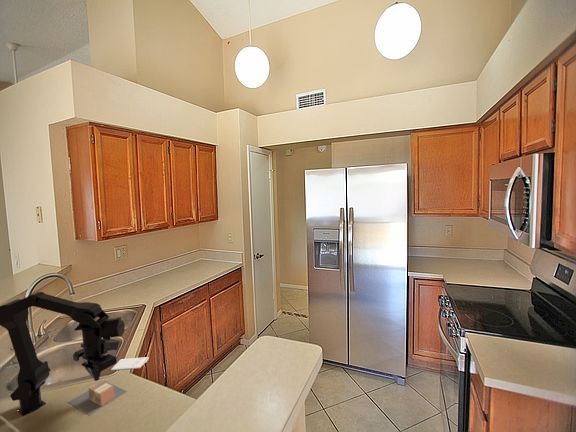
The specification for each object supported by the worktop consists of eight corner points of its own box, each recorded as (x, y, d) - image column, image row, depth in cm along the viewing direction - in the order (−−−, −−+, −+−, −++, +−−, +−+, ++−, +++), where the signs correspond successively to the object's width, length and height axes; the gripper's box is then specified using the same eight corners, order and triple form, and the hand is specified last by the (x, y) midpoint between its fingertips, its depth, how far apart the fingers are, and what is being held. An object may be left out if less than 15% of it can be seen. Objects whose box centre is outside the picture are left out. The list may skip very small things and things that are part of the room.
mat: (67, 403, 102) (67, 402, 102) (105, 382, 114) (105, 381, 114) (89, 416, 95) (89, 415, 95) (127, 392, 107) (127, 391, 106)
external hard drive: (121, 362, 129) (149, 359, 130) (111, 373, 121) (140, 370, 121) (121, 358, 129) (148, 356, 129) (110, 369, 121) (139, 366, 121)
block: (88, 387, 103) (100, 394, 99) (101, 380, 107) (113, 386, 103) (89, 399, 103) (101, 406, 99) (102, 391, 107) (114, 397, 103)
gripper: (129, 333, 105) (133, 373, 106) (101, 325, 114) (105, 362, 115) (97, 348, 96) (102, 392, 97) (70, 338, 105) (74, 378, 106)
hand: (96, 380), depth 104 cm, fingers closed
